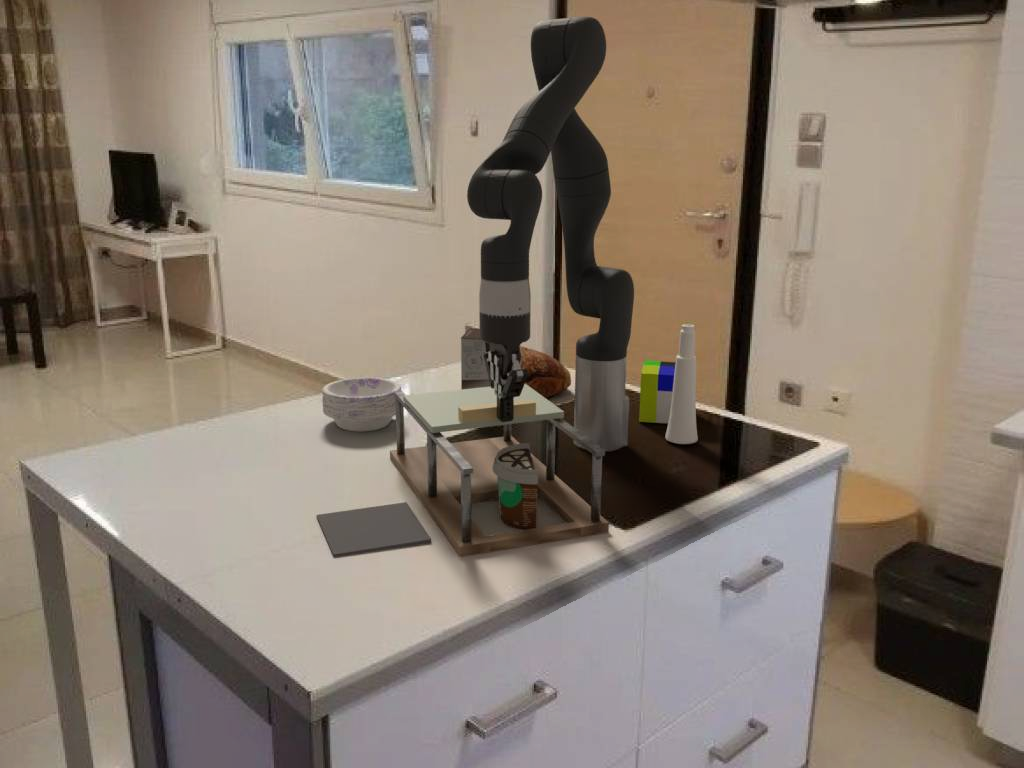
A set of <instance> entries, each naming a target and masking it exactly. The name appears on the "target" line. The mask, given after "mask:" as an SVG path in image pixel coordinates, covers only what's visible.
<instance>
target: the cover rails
mask: <svg viewBox="0 0 1024 768" xmlns="http://www.w3.org/2000/svg"><path fill="white" fill-rule="evenodd" d="M403 395H406V393H405V392H404V391H403V390H402V389H401V391H394V396H395V408H396V415H395V434H396V439H395V440H396V450H397V454H398V455H403V454H405V449H406V444H405V440H406V439H405V412H404V411H407V412H408V413H409V415H410V416H411V417H412V418H413V419H414V420H415V422H416V423H417V424H418V425H419V426H420V427H421V428H422V429H423V431H424V432H425V433H426V444H427V445H426V446H427V459H428V496H429V497H437V456H436V445H438V447H439V448H440V449H441V450H442V451H443V452H444V453H445V454H446V456H447V457H448V458H449V459H450V460H451V461H452V462H453V464H454V465H455V466H456V467H457V468H458V469H459V470H460V472H461V529H462V542H464V543H469V542H471V541H472V529H471V518H472V503H471V474H473V467H472V466H471V465H470V464H469V463H468V462H467V461H466V460H465V459H464V458H463V457H462V455H461V454H460V453H459V452H458V451H457V450H456V449H455V448H454V447H453V446H452V445H451V444H450V443H451V442H450V441H449V440H448V439H447V438H446V437H445V436H444V435H443V434H442V432H438V433H431V431H430V430H429V429H428V428H427V427H426V426H425V425H424V424H423V423H422V421H421V420H420V419H419V418H418V417H417V416H416V415H415V414H414V412H413V411H412V410H411V409H410V408H409V407H408V406H407V405H406V403H405V402H404V401H403ZM404 409H405V410H404ZM556 428H558V429H559V430H561V431H562V432H563V433H564V434H565V435H567V436H568V437H569V438H570V439H572V440H573V441H574V440H575V441H576V442H577V443H579V444H580V445H581V446H583V447H584V448H585V449H584V450H586V451H588V452H589V453H591V454H592V458H591V459H592V461H591V462H592V463H591V464H592V467H591V468H592V469H591V490H590V491H591V492H590V494H591V495H590V496H591V497H590V506H591V521H592V522H599V521H600V515H601V502H602V500H601V499H602V475H603V474H602V473H603V471H602V470H603V457H605V455H606V451H605V450H604V449H602V448H601V447H600V446H598V445H597V444H596V443H594V442H593V441H592V440H590V439H589V438H587V437H586V436H585V435H583V434H582V433H581V432H579V431H578V430H577V429H575V428H574V425H572V424H570V423H569V422H567V421H566V420H565V419H564V418H557V419H549V420H546V454H545V455H546V457H545V458H546V459H545V460H546V461H545V466H546V480H548V481H552V480H554V479H555V475H556V474H555V472H556V471H555V470H556V468H555V467H556ZM511 436H512V424H506V425H503V437H504V441H511Z"/></svg>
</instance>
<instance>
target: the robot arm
mask: <svg viewBox="0 0 1024 768" xmlns="http://www.w3.org/2000/svg"><path fill="white" fill-rule="evenodd" d="M530 54H531V55H530V56H531V57H530V58H531V63H532V67H533V72H534V76H535V81H536V85H537V89H538V92H536V93H535V94H534V95H532V97H531V98H530V99H528V100H527V101H526V102H525V103H524V104H523V105H522V106H521V107H520V108H519V109H518V111H517V112H516V114H515V115H514V117H513V119H512V121H511V123H510V124H509V127H508V129H507V131H506V133H505V135H504V138H503V140H502V142H501V143H500V144H499V145H498V146H497V147H496V148H495V149H494V150H493V151H492V152H491V153H490V154H489V155H488V156H487V158H485V159H484V160H483V162H481V164H480V165H479V166H478V167H477V168H476V170H474V173H473V174H472V175H471V177H470V180H469V183H468V185H467V193H466V200H467V203H468V206H469V209H470V211H471V212H472V213H473V214H474V215H475V216H477V217H479V218H482V219H489V220H503V221H504V220H506V221H507V220H508V221H510V224H509V227H508V230H507V231H506V233H503V234H498V235H493V236H489V237H486V238H485V239H483V241H481V245H480V284H479V295H478V297H479V298H478V299H479V300H478V303H479V304H478V305H479V307H478V308H479V310H478V311H479V329H480V338H481V340H482V341H484V342H486V343H490V351H489V352H486V353H484V360H485V365H486V369H487V373H488V377H489V382H490V386H491V388H492V389H494V393H495V395H496V396H497V419H499V420H500V421H501V422H508V421H512V420H513V418H514V397H518V396H520V395H521V392H522V389H523V387H524V384H525V382H526V379H527V377H528V371H527V369H521V367H520V365H521V364H522V355H521V352H520V346H521V345H522V343H526V342H528V341H529V340H530V339H531V307H532V306H531V286H530V285H531V284H530V278H529V277H530V248H531V244H532V238H533V234H534V229H535V226H536V222H537V220H538V216H539V213H540V209H541V205H542V200H543V189H542V188H543V187H542V184H541V181H540V180H539V178H538V176H537V174H538V173H540V172H541V171H542V170H543V168H544V167H545V165H546V163H547V161H548V158H549V156H551V162H552V163H551V164H552V172H553V177H554V185H555V191H556V196H557V197H556V198H557V200H558V201H557V202H558V207H559V214H560V221H561V227H562V236H563V245H564V246H563V247H564V261H565V262H564V264H565V280H566V281H565V282H566V284H565V285H566V292H567V293H566V294H567V298H568V299H567V300H568V302H569V305H570V307H571V309H572V311H573V312H574V313H576V314H577V315H579V316H582V317H589V318H592V319H593V318H594V319H599V327H598V331H597V332H594V333H591V334H590V333H589V334H587V335H583V336H581V337H579V338H578V339H577V340H576V345H575V374H574V376H575V377H574V379H575V382H574V408H573V409H574V413H573V415H574V416H573V420H574V421H573V427H574V428H575V429H577V430H578V431H579V432H581V433H582V434H583V435H585V436H586V437H587V438H589V439H590V440H592V441H593V442H594V443H596V444H597V445H598V446H600V447H601V448H602V449H604V450H605V452H607V453H608V452H614V451H618V450H619V449H621V448H623V447H628V441H629V440H628V439H629V416H630V414H629V413H630V397H629V396H628V395H626V377H627V355H628V354H627V353H628V346H629V342H630V339H631V333H632V324H633V322H632V321H633V313H634V312H633V311H634V304H635V303H634V300H635V287H634V286H635V285H634V280H633V278H632V275H631V274H630V272H628V271H627V270H625V269H621V268H616V267H615V268H614V267H608V266H607V267H606V266H601V265H600V266H599V265H597V264H598V263H597V262H596V257H595V236H596V233H597V230H598V227H599V225H600V223H601V221H602V219H603V217H604V215H605V213H606V210H607V208H608V205H609V204H610V200H611V196H612V195H611V194H612V185H611V178H610V171H609V162H608V158H607V154H606V152H605V150H604V148H603V146H602V145H601V143H600V141H599V140H598V139H597V137H596V136H595V135H594V134H593V132H592V131H591V130H590V128H589V127H588V126H587V124H586V123H585V122H584V120H583V119H582V118H581V116H580V115H579V113H578V112H577V110H576V107H577V105H578V104H579V102H580V101H581V100H582V98H583V97H584V95H585V94H586V93H587V91H588V90H589V89H590V87H591V85H593V82H594V81H595V80H596V78H598V76H599V74H600V72H601V70H602V68H603V65H604V63H605V60H606V55H607V39H606V34H605V30H604V28H603V26H602V24H601V22H600V21H599V20H598V19H596V18H595V17H592V16H575V17H573V16H572V17H565V18H564V17H563V18H556V19H555V18H554V19H547V20H542V21H539V22H537V23H536V24H535V25H534V27H533V29H532V31H531V37H530ZM573 444H574V445H575V446H576V447H578V448H580V449H582V450H586V449H585V448H584V447H583V446H581V445H580V444H579V443H577V442H576V441H575V440H573Z"/></svg>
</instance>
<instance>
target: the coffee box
mask: <svg viewBox="0 0 1024 768" xmlns="http://www.w3.org/2000/svg"><path fill="white" fill-rule="evenodd" d="M460 348H461V349H460V351H461V353H460V357H461V359H460V360H461V361H460V363H461V364H460V366H461V367H460V368H461V375H460V376H461V381H460V382H461V387H460V388H461V389H460V390H462V389H472V388H481V387H491V386H490V382H489V377H488V373H487V369H486V365H485V360H484V353H486V352H489V351H490V343H486V342H484V341H482V340H481V338H480V328H469V329H468V330H467V331H466V332H465V333H464V334H462V336H461V337H460Z"/></svg>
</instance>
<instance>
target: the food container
mask: <svg viewBox="0 0 1024 768" xmlns="http://www.w3.org/2000/svg"><path fill="white" fill-rule="evenodd" d="M530 449H531V444H530V443H529V442H528V443H520V444H516V445H512V446H508V447H505V448H503V449H501V450H500V451H499V452H498V453H497V455H496V457H495V459H494V464H493V472H494V473H495V475H497V479H498V493H499V499H498V505H499V515H500V517H499V519H500V521H501V523H503V524H504V525H505V526H507V527H510V528H512V529H515V530H519V531H520V530H526V529H533V528H537V518H538V517H537V513H538V511H537V510H538V494H537V484H538V470H535V468H534V464H533V459H532V457H531V454H532V453H531V452H530V451H531V450H530ZM530 453H531V454H530Z"/></svg>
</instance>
